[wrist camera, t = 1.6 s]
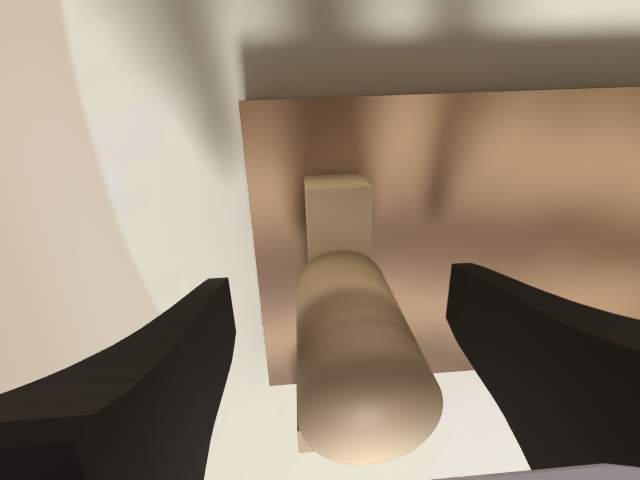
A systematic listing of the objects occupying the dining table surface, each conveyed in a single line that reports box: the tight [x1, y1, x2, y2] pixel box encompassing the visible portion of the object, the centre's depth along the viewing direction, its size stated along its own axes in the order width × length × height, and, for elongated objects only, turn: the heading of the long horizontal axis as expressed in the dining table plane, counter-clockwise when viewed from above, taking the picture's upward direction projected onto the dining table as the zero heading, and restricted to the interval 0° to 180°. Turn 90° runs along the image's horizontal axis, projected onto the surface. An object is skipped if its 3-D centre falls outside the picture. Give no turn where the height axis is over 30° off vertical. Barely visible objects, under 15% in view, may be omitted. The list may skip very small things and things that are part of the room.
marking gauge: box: [296, 173, 443, 465], centre depth 12 cm, size 11×4×9 cm, turn 2°
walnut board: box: [239, 86, 640, 386], centre depth 15 cm, size 12×20×2 cm, turn 92°
